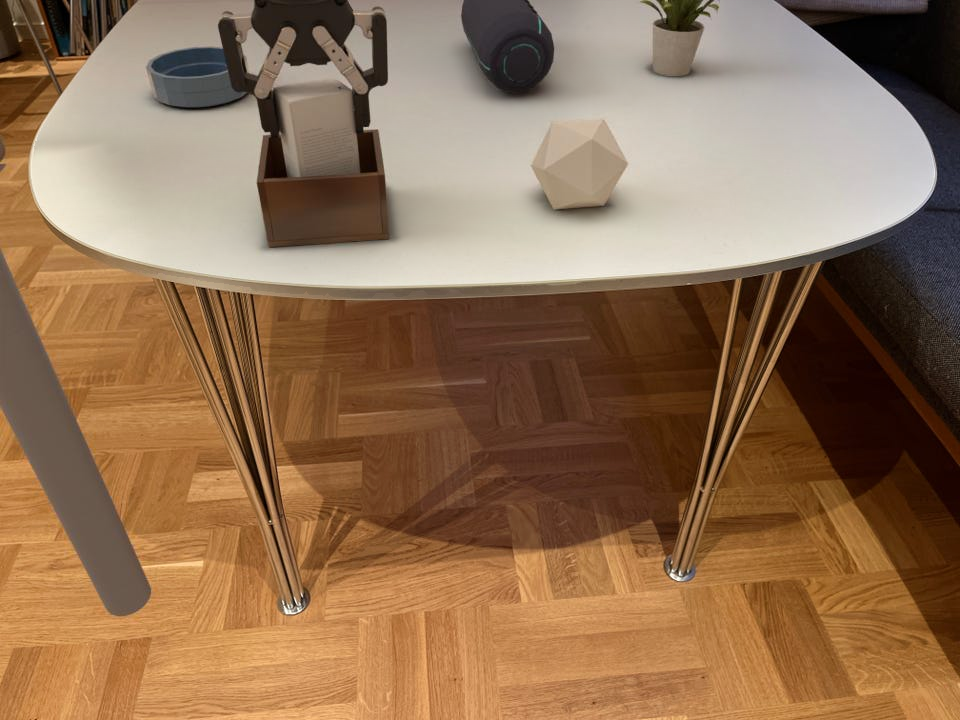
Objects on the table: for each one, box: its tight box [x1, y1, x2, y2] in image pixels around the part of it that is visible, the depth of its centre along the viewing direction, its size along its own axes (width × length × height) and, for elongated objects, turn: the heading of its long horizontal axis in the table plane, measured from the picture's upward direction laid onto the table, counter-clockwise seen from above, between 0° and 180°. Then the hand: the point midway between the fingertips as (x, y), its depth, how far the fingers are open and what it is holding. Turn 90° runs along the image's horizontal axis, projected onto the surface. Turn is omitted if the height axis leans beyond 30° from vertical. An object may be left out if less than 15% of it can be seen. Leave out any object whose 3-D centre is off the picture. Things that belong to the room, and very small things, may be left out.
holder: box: [256, 128, 390, 248], centre depth 74 cm, size 11×10×7 cm
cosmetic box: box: [272, 75, 360, 178], centre depth 72 cm, size 6×4×12 cm
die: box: [530, 118, 629, 211], centre depth 77 cm, size 8×9×10 cm
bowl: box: [145, 45, 250, 109], centre depth 100 cm, size 12×12×4 cm
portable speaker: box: [460, 0, 555, 93], centre depth 106 cm, size 25×10×10 cm, turn 9°
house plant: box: [637, 0, 720, 77], centre depth 105 cm, size 14×14×16 cm
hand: (317, 132), depth 70 cm, fingers closed on cosmetic box, 7 cm apart
